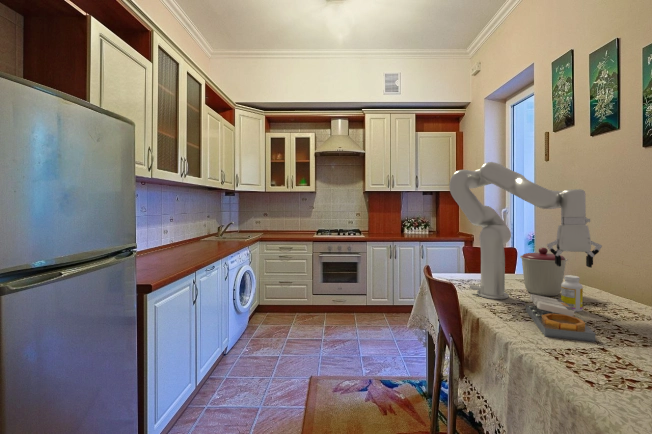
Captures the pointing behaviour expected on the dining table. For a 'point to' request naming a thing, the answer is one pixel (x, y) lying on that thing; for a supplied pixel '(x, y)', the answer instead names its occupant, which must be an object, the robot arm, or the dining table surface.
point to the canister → (542, 273)
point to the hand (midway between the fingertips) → (573, 266)
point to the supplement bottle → (572, 293)
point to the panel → (560, 325)
